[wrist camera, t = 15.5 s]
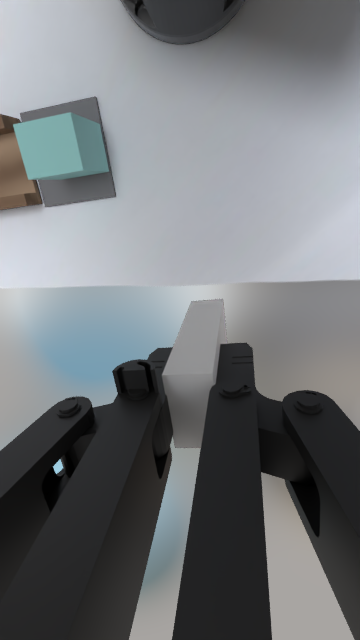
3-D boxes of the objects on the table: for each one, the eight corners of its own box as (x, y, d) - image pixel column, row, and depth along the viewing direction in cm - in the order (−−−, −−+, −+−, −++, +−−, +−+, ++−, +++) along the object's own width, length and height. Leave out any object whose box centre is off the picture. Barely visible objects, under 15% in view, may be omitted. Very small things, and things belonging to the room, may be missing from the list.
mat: (21, 113, 41) (19, 113, 41) (96, 97, 39) (95, 96, 39) (46, 206, 45) (45, 207, 45) (115, 196, 43) (115, 196, 43)
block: (50, 133, 41) (12, 124, 34) (99, 123, 39) (70, 112, 33) (62, 179, 43) (28, 179, 36) (109, 171, 41) (83, 170, 34)
